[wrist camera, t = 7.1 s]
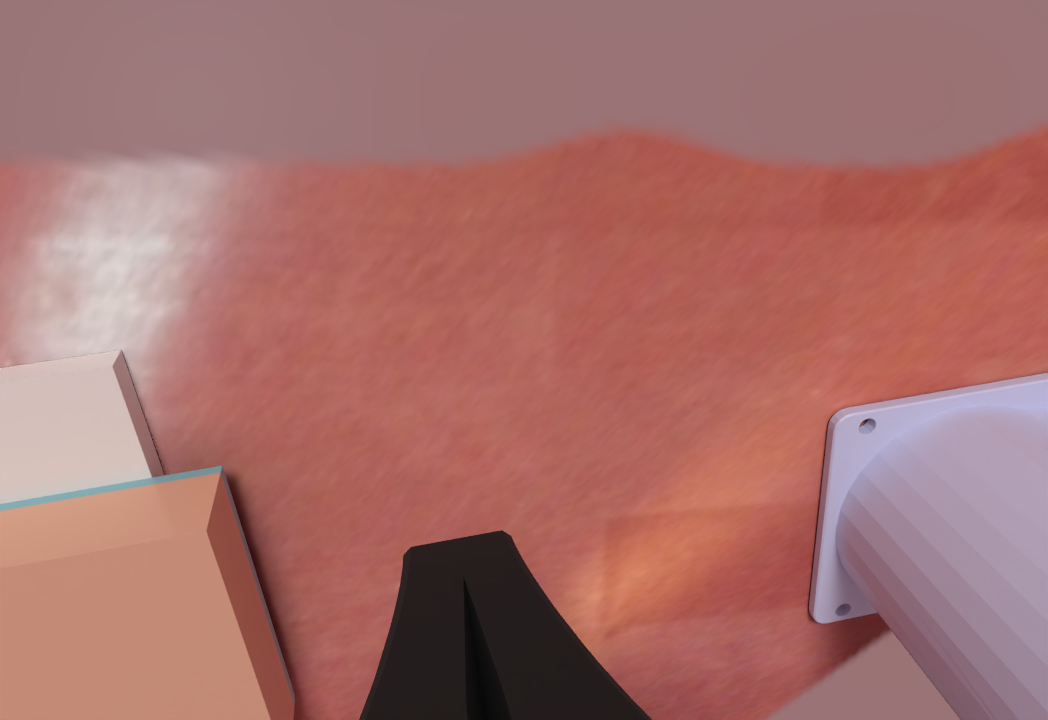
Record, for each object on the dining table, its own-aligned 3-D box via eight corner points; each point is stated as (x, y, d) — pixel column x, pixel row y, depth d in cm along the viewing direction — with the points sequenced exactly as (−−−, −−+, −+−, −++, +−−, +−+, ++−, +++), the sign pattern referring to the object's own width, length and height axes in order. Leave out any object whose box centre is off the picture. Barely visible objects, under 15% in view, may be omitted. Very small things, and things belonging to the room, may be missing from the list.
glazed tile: (206, 531, 18) (-148, 595, 17) (289, 774, 21) (2, 837, 21) (222, 465, 20) (-91, 519, 19) (295, 696, 24) (36, 750, 23)
